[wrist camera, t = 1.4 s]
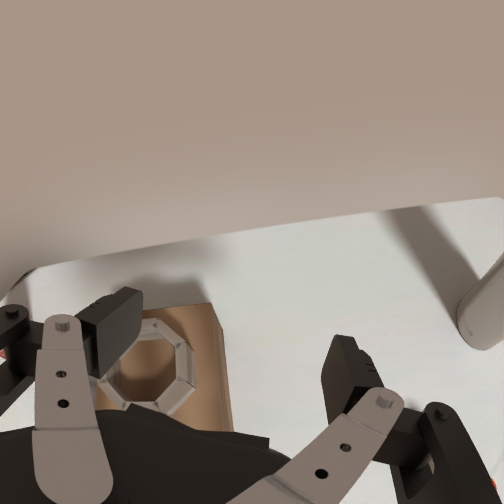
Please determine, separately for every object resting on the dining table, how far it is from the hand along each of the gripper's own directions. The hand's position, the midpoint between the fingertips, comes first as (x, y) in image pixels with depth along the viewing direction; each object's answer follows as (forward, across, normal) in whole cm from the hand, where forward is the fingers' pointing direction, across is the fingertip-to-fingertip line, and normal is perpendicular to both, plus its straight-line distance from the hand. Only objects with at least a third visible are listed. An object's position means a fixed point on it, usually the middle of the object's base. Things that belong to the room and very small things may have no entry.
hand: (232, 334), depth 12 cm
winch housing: (+17, +9, +20) cm, 28 cm away
